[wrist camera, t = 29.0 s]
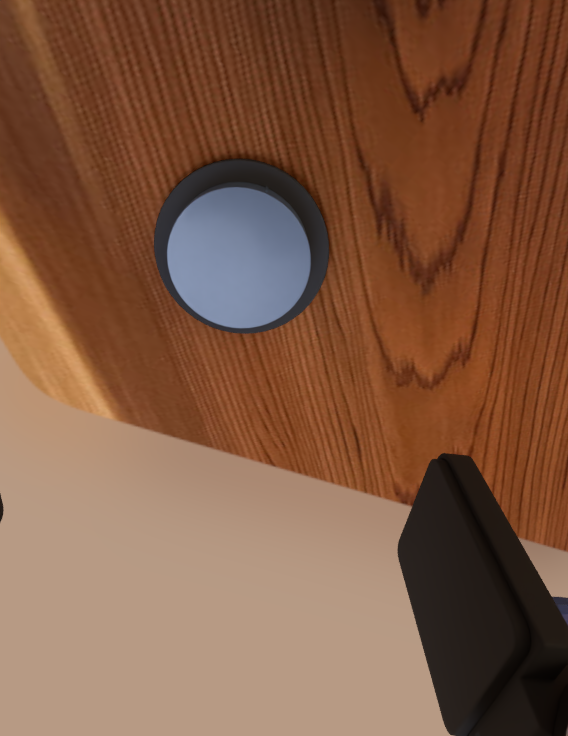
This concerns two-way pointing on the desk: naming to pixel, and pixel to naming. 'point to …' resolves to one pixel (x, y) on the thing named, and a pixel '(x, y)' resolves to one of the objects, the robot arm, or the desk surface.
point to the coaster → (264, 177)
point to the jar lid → (239, 255)
